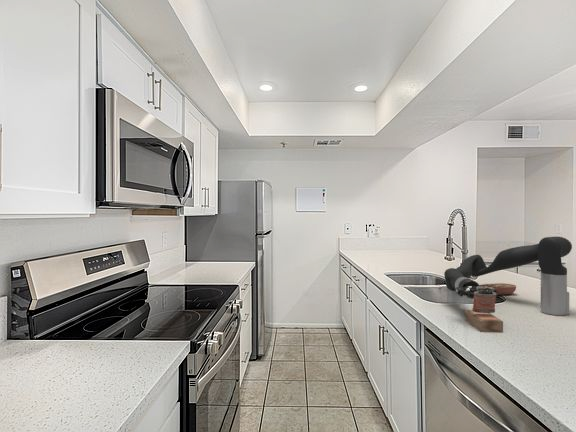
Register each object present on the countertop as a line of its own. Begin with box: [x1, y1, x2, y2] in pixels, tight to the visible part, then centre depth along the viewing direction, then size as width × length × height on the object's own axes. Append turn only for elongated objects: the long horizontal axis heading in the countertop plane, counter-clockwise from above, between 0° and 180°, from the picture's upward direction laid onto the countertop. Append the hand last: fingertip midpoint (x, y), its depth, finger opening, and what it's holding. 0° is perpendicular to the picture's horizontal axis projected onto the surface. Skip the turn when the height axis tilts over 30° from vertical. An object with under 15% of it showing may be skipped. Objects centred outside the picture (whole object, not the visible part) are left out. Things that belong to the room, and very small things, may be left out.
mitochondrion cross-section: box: [479, 282, 517, 296], centre depth 188 cm, size 23×10×5 cm, turn 106°
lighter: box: [471, 286, 497, 314], centre depth 137 cm, size 8×3×10 cm, turn 83°
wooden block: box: [464, 309, 504, 333], centre depth 139 cm, size 8×14×4 cm, turn 175°
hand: (484, 296), depth 138 cm, fingers closed on lighter, 8 cm apart
